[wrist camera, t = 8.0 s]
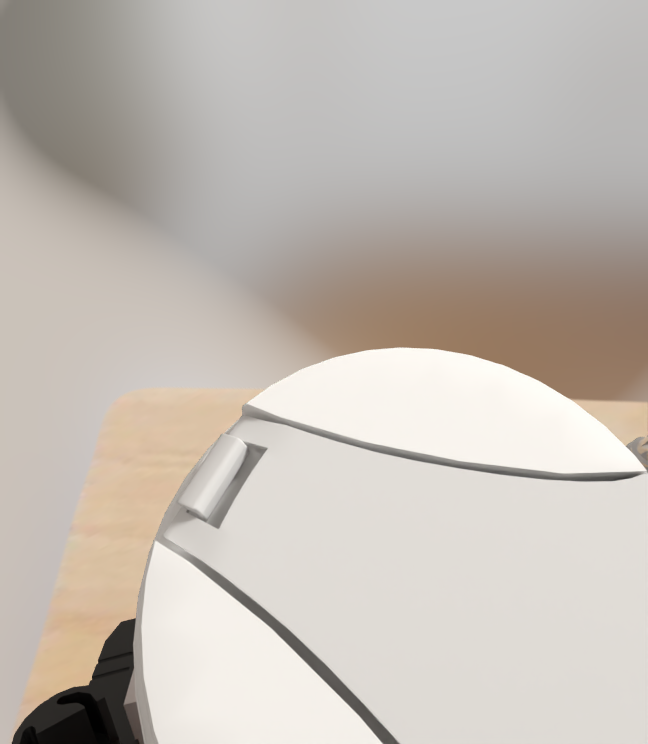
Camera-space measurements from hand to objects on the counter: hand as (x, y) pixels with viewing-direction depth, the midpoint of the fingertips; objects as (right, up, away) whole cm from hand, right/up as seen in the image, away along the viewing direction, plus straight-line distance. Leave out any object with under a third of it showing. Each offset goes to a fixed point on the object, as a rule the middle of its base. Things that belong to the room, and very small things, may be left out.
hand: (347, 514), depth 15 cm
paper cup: (+1, -6, +3) cm, 7 cm away
